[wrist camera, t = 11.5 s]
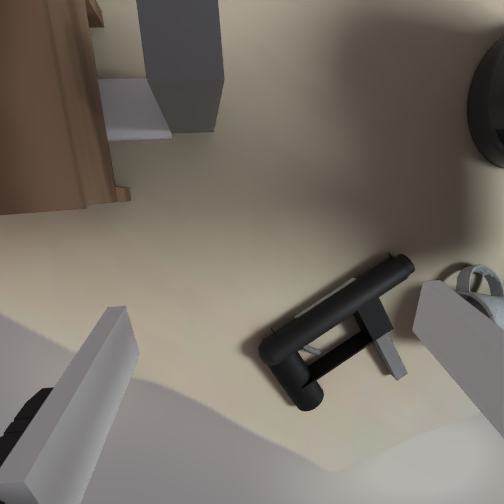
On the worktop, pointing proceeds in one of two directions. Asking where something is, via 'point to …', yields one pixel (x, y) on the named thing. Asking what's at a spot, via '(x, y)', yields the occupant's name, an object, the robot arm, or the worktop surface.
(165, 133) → the grey block with plate
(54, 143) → the walnut stool
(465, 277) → the ceramic mug
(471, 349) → the robot arm
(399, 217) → the worktop surface
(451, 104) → the worktop surface
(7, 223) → the worktop surface
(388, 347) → the door handle
